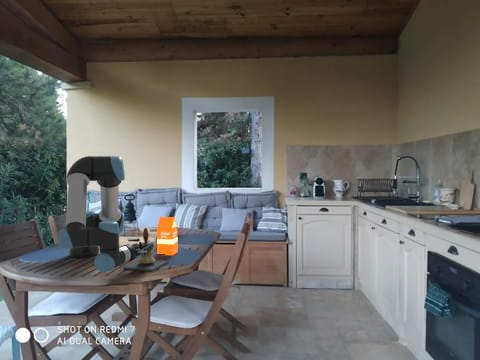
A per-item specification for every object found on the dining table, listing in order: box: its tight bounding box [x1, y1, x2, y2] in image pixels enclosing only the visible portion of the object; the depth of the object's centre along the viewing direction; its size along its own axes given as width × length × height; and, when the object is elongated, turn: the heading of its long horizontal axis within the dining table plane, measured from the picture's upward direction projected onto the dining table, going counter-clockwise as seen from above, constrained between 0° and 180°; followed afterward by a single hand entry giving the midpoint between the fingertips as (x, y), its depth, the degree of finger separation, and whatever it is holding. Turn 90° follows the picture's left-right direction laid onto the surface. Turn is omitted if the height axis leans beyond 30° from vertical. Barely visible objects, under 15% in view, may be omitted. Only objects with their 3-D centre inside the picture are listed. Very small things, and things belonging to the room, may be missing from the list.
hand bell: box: [137, 227, 157, 263], centre depth 172 cm, size 8×8×16 cm
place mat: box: [123, 259, 169, 273], centre depth 173 cm, size 15×15×1 cm
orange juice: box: [156, 216, 179, 256], centre depth 197 cm, size 8×9×20 cm
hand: (152, 243), depth 178 cm, fingers closed on hand bell, 2 cm apart
